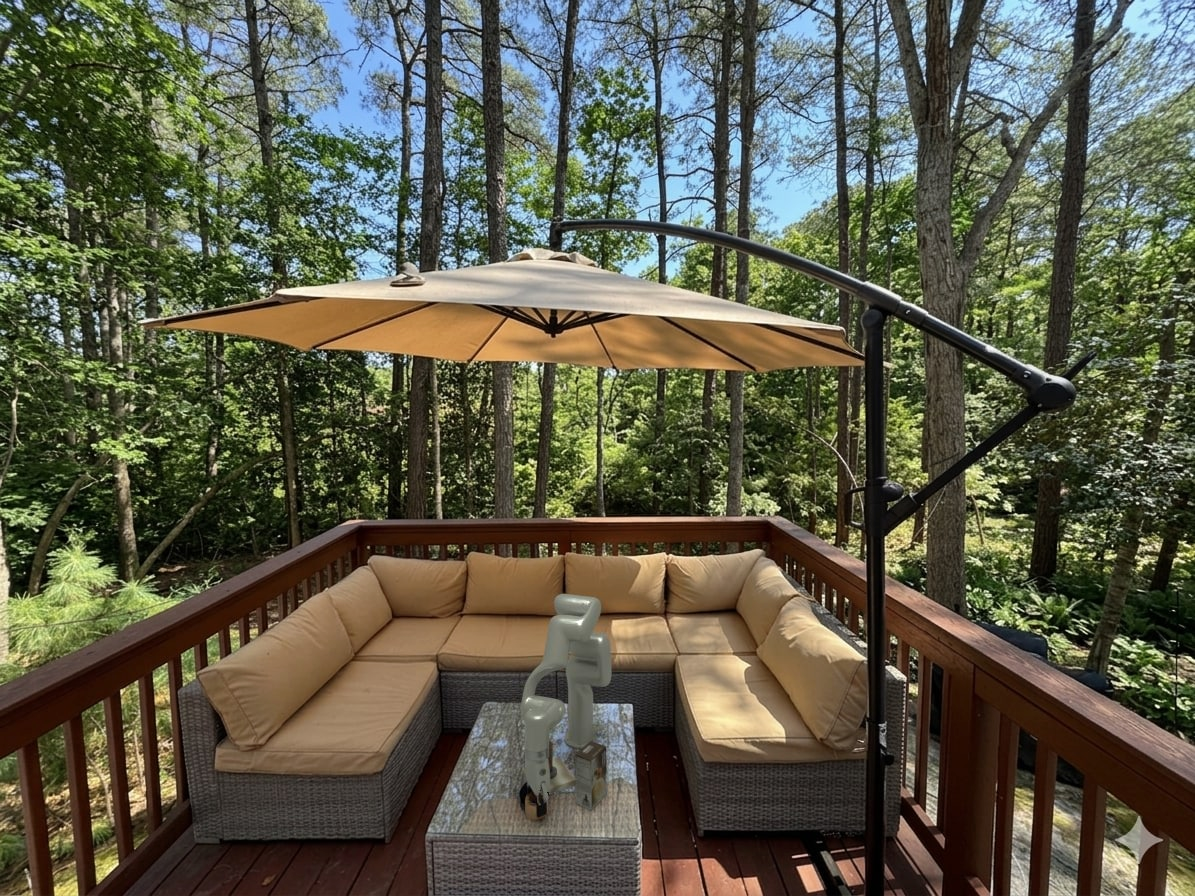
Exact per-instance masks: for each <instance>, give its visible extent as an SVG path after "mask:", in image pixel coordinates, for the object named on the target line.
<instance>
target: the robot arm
mask: <svg viewBox="0 0 1195 896" xmlns="http://www.w3.org/2000/svg"><path fill="white" fill-rule="evenodd" d="M553 604H554V610H555V611H556V613H557V614H556V615H554V616H552V617H551V618H550V621H549V624H548V629H547V635H546V639H545V646H544V651H543V656H542V657H543V658H542V660H541V663H540V664H539V665H537V667H535V669H534V670H533V671H532V672H531V674H530V675H529V676H528V678H527V679H526V682H525V684H524V687H523V692H522V698H521V704H520V715H521V717H522V718H523V719H524V759H525V767H526V768H525V767H524V768H525V772H526V780H527V782H526V787H527V789H526V790H527V793H526V796H527V795H528V794H529V793H531V792H534V794H535V795H536V796H537V804H536V816H537V818H538V817H541V816H544V815H546V814H547V801H548V799H550V798H549V795H548V793H547V792H550V790H551V785H550V768H549V761H548V757H549V740H550V730H552V728H554V727H556V726H558V724H560V723H561V721H562V720H564V718H565V715H566V704H565V703H564V702H563V701H562V700H560V699H557V698H553V697H546V696H541V695H535V694H536V689H537V686H538V684H539V682H540V681H541V679H542V678H544V677H545V676H547V675H548V674H550V673H553V672H556V671H560V670H563V669H565V675H566V681H567V689H568V693H567V694H568V695H567V697H568V698H567V699H568V700H567V702H568V703H567V705H568V707H567V713H568V714H567V716H568V717H567V719H568V720H567V721H568V722H567V723H568V724H567V725H568V726H567V731H566V732H565V733H564V735H563V736H564V737H563V740H564V742H565V744H566V745H567V746H568V747H571V748H573V749H574V748H575V749H582V748H583V747H584V746H585V745H586V744H588V743H589V742H590V741H592V742H595V743H597V742H598V741H597V740H598V734H597V733H598V732H601V731H604V730H605V725H604V724H603V723H602V724H599V723H598V722H595V723H594V693H593V690H592V686H594V687H600V688H603V687H607V686H608V685H609V684H610V682H611V681H612V680H611V679H612V652H611V641H610V639H609V636H608V635H607V634H605V633H602V632H596V631H595V632H594V630H595V627H596V625H597V623H598V620H599V618H600V615H601V612H602V604H601V601H600V599H599V598H597V597H593V596H588V595H587V596H586V595H579V594H577V595H576V594H569V593H560V594H558V595H557V596H556V597H555V598H554V601H553ZM570 655H571V656H572V657H570ZM526 780H525V781H526ZM540 790H541V791H542V792H540ZM542 794H543V798H542V799H541V800H540V797H539V795H542ZM547 815H548V814H547ZM547 815H546V816H547Z"/></svg>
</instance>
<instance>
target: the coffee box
mask: <svg viewBox="0 0 1195 896" xmlns="http://www.w3.org/2000/svg"><path fill="white" fill-rule="evenodd" d="M607 768H608V767H607V746H606V745H604V744H601V743H598V742H592V741H590V742H589V743H588V744H586V745H585V746H584V747H583V748H580V749H579V751H578V752H577V753H576V754H575V778H576V786H575V804H576V805H578V806H581V807H583V808H585V809H587V810H590V811H593V810H594V809H595V807H597V805H599V803H600V802H601V801H602V799H604V798H605V797H606V795H608V794H607V780H608V778H607Z"/></svg>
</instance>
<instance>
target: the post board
mask: <svg viewBox="0 0 1195 896" xmlns="http://www.w3.org/2000/svg"><path fill="white" fill-rule="evenodd" d="M553 745H554V743H553V741H551V740H550V739H549V757H548V761H549V768H550V785H551V790H550V792H549V793H550V795H553V794H555V793H554V792H556V793H558V792H562V791H564V790H567V789H570V788H572V787H576V776H574V774H573V773H572V772H571V770H570V769H569V767H567V765H566V764H565V762H564V761H563V760H562V759H561V757H560V756H556V757H554V758H553V755H554V754H553V752H554V751H553V749H554V747H553ZM525 768H526V766H525V767H522V768H521V775H522V777H523V778H524V780H525V781H527V780H526V772H525ZM561 790H562V791H561ZM552 793H553V794H552Z"/></svg>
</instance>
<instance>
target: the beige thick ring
mask: <svg viewBox="0 0 1195 896" xmlns="http://www.w3.org/2000/svg"><path fill="white" fill-rule="evenodd" d="M540 792H542V791H540ZM539 797H540V800H541V799H542V798H543V794H542V795H539ZM535 798H537V796H536V795H535V794H534V792H531V793H529V794H528V795H527V794H526V796H525V800H524V809H525V810H524V813H525V815H526V817H527V819H530V820H541V819H543V818H545V817H546V816H547V815H548V814H549V808H550V807H549V802H550V801H549V799H550V798H549V799H548V801H547V814H546V815H544V816H541V817H538V818H537V816H536V803H532V800H533V799H535Z"/></svg>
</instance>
